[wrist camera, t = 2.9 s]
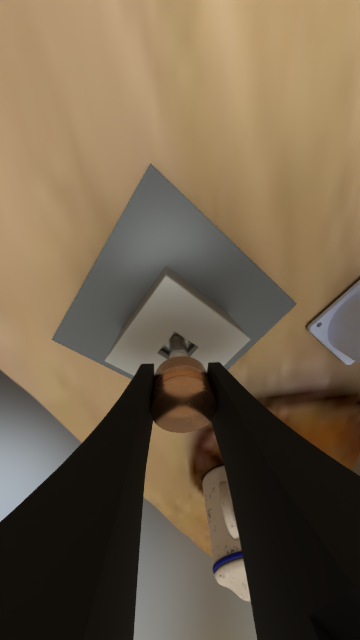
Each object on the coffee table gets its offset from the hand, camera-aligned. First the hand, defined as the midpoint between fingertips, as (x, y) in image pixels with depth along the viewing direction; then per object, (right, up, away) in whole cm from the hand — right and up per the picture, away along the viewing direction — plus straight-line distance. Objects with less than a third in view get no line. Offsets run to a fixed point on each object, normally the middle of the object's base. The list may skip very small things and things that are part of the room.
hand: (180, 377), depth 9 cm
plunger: (0, +2, +4) cm, 4 cm away
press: (0, +3, +7) cm, 8 cm away
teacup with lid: (+7, -22, +19) cm, 30 cm away
